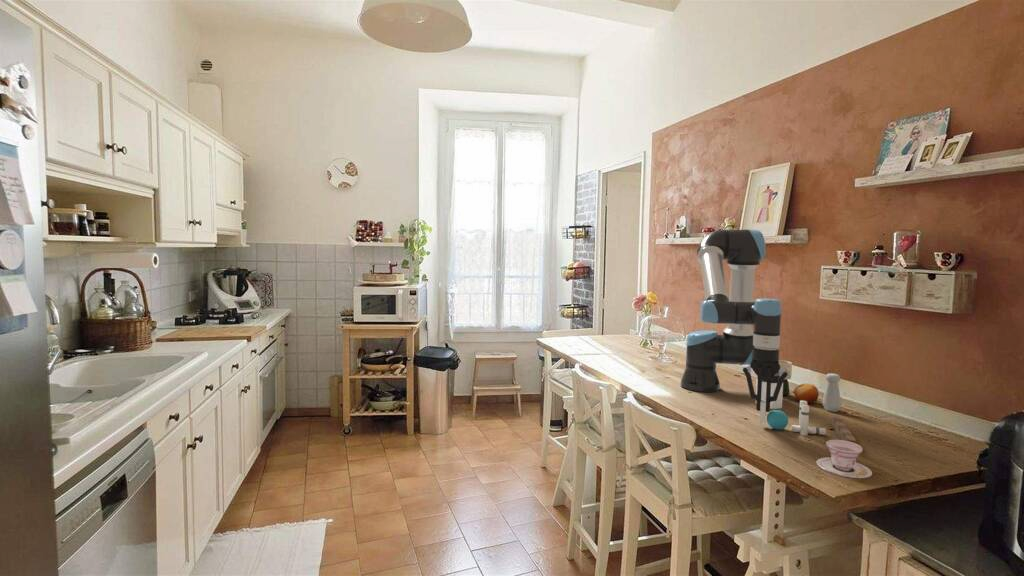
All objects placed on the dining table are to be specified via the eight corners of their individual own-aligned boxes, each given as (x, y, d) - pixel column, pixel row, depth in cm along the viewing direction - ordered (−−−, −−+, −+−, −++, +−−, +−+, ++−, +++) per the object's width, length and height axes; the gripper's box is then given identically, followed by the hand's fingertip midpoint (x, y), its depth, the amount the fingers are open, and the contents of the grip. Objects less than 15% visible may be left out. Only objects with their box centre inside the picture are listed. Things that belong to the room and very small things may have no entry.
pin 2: (798, 433, 154) (800, 404, 154) (805, 433, 154) (806, 404, 154) (802, 435, 152) (804, 406, 151) (809, 435, 152) (811, 406, 152)
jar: (751, 405, 183) (753, 373, 182) (758, 401, 189) (760, 369, 188) (778, 411, 176) (780, 377, 176) (785, 406, 182) (786, 373, 182)
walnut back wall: (856, 452, 140) (857, 441, 140) (848, 450, 141) (848, 440, 140) (838, 425, 162) (839, 416, 162) (831, 424, 163) (832, 415, 162)
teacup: (827, 456, 137) (828, 433, 137) (879, 471, 128) (880, 447, 128) (808, 466, 130) (809, 443, 130) (861, 483, 121) (863, 458, 120)
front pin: (792, 424, 155) (826, 427, 152) (791, 424, 157) (824, 428, 154) (792, 431, 155) (826, 435, 152) (791, 431, 157) (824, 435, 153)
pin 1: (796, 428, 159) (798, 400, 158) (803, 428, 159) (804, 400, 158) (800, 430, 157) (802, 402, 156) (807, 430, 157) (809, 402, 156)
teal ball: (767, 404, 160) (789, 407, 157) (767, 419, 163) (788, 423, 160) (765, 415, 156) (787, 419, 153) (765, 431, 158) (787, 435, 155)
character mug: (763, 390, 203) (765, 358, 202) (781, 390, 204) (782, 359, 203) (779, 398, 192) (781, 364, 191) (797, 398, 193) (799, 364, 192)
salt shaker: (843, 410, 178) (845, 374, 177) (838, 413, 174) (840, 376, 173) (824, 406, 182) (826, 371, 181) (819, 409, 178) (821, 373, 177)
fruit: (827, 402, 183) (816, 383, 183) (806, 411, 184) (795, 392, 185) (818, 396, 191) (807, 377, 191) (799, 405, 192) (788, 387, 193)
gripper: (742, 347, 158) (739, 421, 159) (789, 351, 152) (785, 428, 153) (743, 344, 164) (740, 414, 166) (789, 347, 158) (785, 421, 160)
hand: (762, 421), depth 160 cm, fingers closed
